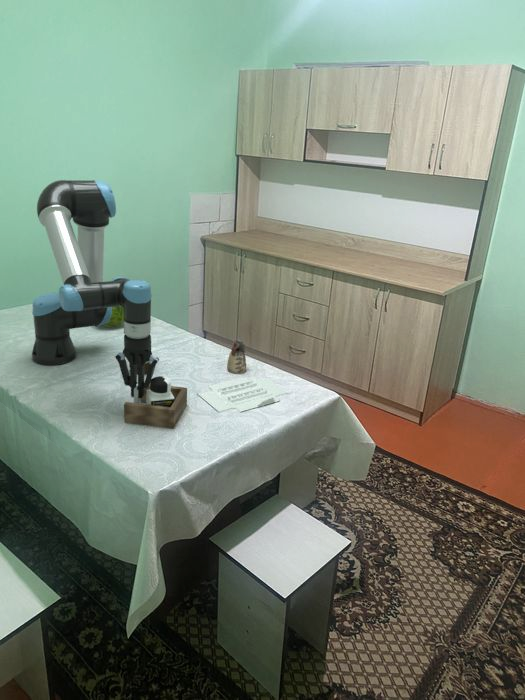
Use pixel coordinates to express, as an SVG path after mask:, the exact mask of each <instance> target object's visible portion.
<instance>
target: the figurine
mask: <svg viewBox="0 0 525 700" xmlns="http://www.w3.org/2000/svg"><path fill="white" fill-rule="evenodd" d="M232 343H233V345H232V347H231V351H230V353H229V356H228V359H227V362H226V365H227V366H226V367H227V371H228V372H229V373H232V374H237V375H240V374H241V375H242V374H245V373H246V372H247V371H246V370H247V360H246V359H247V358H246V354H245V353H247V350H245V343H244V341H242V340H240V339H236V340H234V341H233V342H232Z"/></svg>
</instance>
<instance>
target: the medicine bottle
mask: <svg viewBox="0 0 525 700" xmlns="http://www.w3.org/2000/svg"><path fill="white" fill-rule="evenodd" d="M171 383H172V380H171V379H170V378H168V377H167V376H162V375H161V376H154V377H152V379H151V381H150V390H146V402H145V404H147V405H155V406H163V407H171V406H172V404H173V402H174V401H175V398H174V396H173V394H172V393H171V386H172V384H171Z"/></svg>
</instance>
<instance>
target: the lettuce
mask: <svg viewBox="0 0 525 700" xmlns="http://www.w3.org/2000/svg"><path fill="white" fill-rule="evenodd" d="M122 324H124V308H123V307H122V306H116V307H112V314H111V318H110V320H109V322H107V323H106V324H103V326H105V327H108V328H115V327H117V326H120V325H122Z"/></svg>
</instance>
